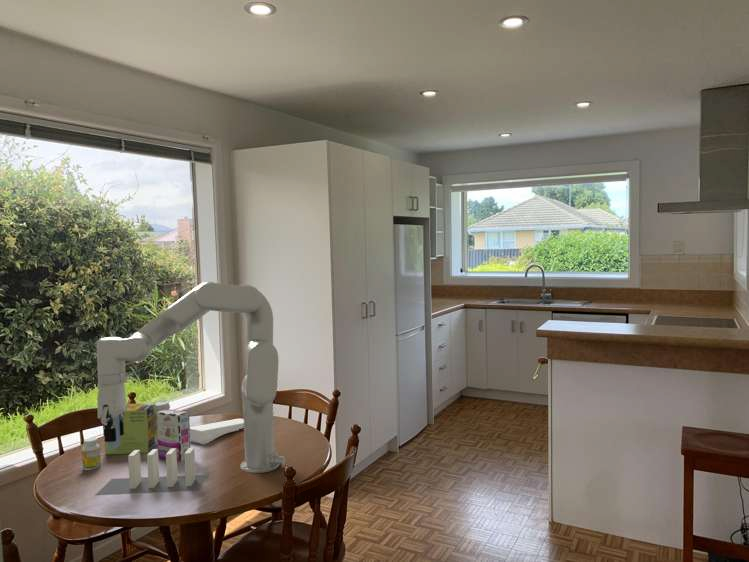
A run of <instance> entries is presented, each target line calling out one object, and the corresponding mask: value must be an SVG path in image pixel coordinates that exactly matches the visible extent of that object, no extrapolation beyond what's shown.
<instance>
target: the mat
mask: <svg viewBox="0 0 749 562" xmlns="http://www.w3.org/2000/svg"><path fill="white" fill-rule="evenodd" d="M195 476H196V480H195V481H194V483H193V484H192V486H186V479H185V475H177V478H178V480H177V482H176V483H175V484H174V486H173V487H167V475H166V476H159V482H158V483H157V485H156V486H155V487H154V488H149V486H148V476H146V477H144V476H143V477H142V476H141V483H140V484H139V485H138V486H137V487H136V488H135V489H130V481H129V477H122V478H111V479H110V480H109V481H108V482H107V483H106V484H105V485H104V486H103V487H101V489H99V491H97V493H95V495H94V496H103V495H104V496H105V495H108V496H109V495H128V494H146V493H147V494H150V493H151V494H152V493H172V492H194V491H200V490H201V488H202V486H203V485H204V484H205V481H206V480H207V478H208V477H209V474H195Z"/></svg>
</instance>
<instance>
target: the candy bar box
mask: <svg viewBox="0 0 749 562" xmlns="http://www.w3.org/2000/svg"><path fill="white" fill-rule="evenodd" d="M156 416H157V449H158V458H159V459H160V460H165V461H166V453H167V452H168V451H169V450H170V449H171V448H176V454H177V462H179V463H180V462H183V461H184V462H185V455H184V453H185V452H186V451H187V450H188V448H191V442H190V427H191V426H190V412H189V411H185V410H177V409H176V410H175V409H171V408H169V409H165V410H162V411H159V412H156Z"/></svg>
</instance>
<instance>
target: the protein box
mask: <svg viewBox="0 0 749 562" xmlns="http://www.w3.org/2000/svg"><path fill="white" fill-rule="evenodd" d="M123 418H124V421H123V426H124V435H122V436H120V441H121V445H120V446H118V447H117V448H116V449H115V450H108V442H105V441H104V454H105V455H122V454H123V455H124V454H131V453H132V452H133V451H134V450H140V454H145V453H147V454H149V453H150V452H151V451H152V450H153V448H154V447H155V446H156V445H158V440H157V428H156V407H155V403H152V402H145V403H142V402H141V403H126V409H125V411H124V415H123ZM143 452H144V453H143Z"/></svg>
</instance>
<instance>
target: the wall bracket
mask: <svg viewBox="0 0 749 562" xmlns="http://www.w3.org/2000/svg"><path fill="white" fill-rule="evenodd" d="M242 428H244V418H234V419H230V420H223V421H218V422H212V423H206V424H201V425H196V426H190V443H195V444H199V445H206V444H208V443H210V441H211V442H212V441H214V440H215V439H217V438H219V437H221V436H224V435H225V434H229V433H233V432H237V431H240V430H239V429H242ZM242 430H243V429H242Z"/></svg>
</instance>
